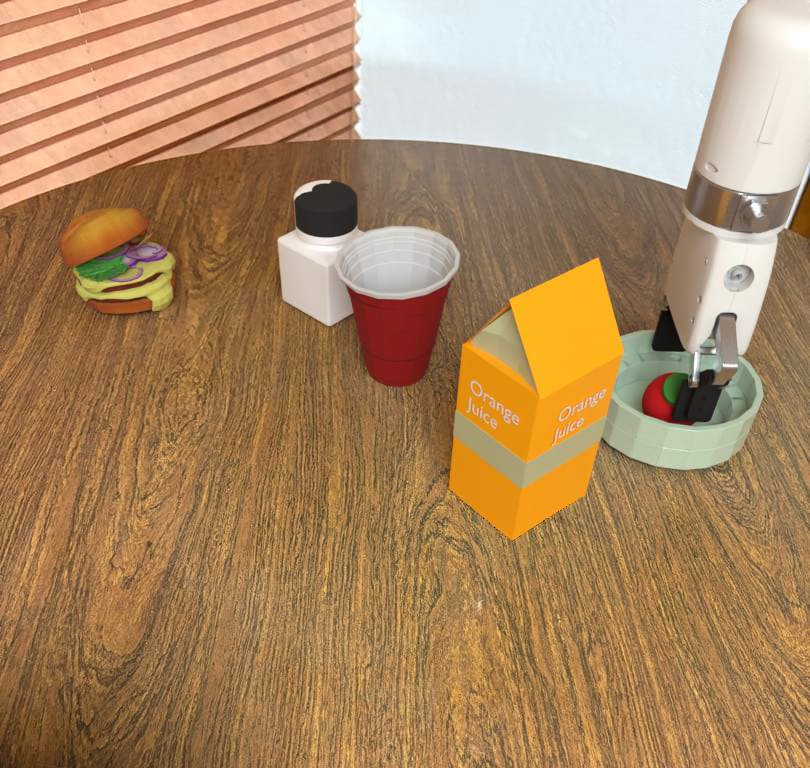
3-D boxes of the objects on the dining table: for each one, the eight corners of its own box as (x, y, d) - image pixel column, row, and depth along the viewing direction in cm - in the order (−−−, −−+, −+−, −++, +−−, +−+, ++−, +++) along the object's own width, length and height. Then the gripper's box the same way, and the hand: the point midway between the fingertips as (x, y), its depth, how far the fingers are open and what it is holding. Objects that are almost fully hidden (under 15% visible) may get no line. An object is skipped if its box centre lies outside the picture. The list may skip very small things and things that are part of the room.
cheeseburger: (136, 335, 84) (93, 237, 78) (67, 323, 90) (21, 231, 83) (203, 287, 90) (168, 192, 84) (135, 279, 96) (97, 189, 89)
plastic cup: (320, 352, 84) (313, 238, 75) (418, 325, 87) (423, 213, 78) (368, 418, 77) (367, 301, 68) (471, 386, 81) (484, 271, 72)
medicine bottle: (377, 300, 90) (378, 189, 81) (329, 328, 86) (324, 215, 77) (329, 275, 93) (325, 165, 84) (281, 301, 89) (271, 189, 80)
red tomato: (663, 375, 78) (678, 348, 73) (706, 413, 77) (726, 388, 72) (624, 414, 78) (637, 389, 72) (667, 452, 77) (684, 430, 71)
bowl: (645, 354, 85) (658, 311, 81) (773, 424, 78) (793, 380, 75) (554, 417, 78) (563, 372, 74) (686, 499, 72) (704, 454, 68)
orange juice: (446, 489, 71) (466, 274, 57) (521, 445, 75) (558, 233, 60) (512, 544, 68) (553, 328, 53) (588, 495, 71) (645, 281, 57)
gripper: (828, 259, 57) (746, 451, 70) (760, 144, 68) (700, 326, 81) (714, 256, 57) (653, 449, 70) (665, 141, 68) (621, 324, 81)
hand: (679, 383), depth 75 cm, fingers open, 9 cm apart
